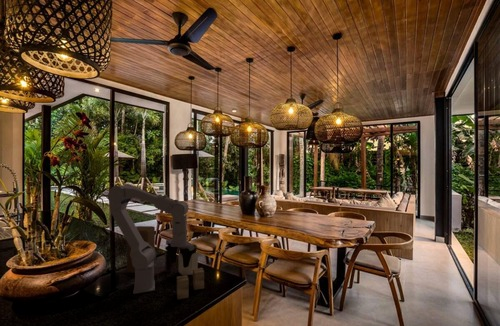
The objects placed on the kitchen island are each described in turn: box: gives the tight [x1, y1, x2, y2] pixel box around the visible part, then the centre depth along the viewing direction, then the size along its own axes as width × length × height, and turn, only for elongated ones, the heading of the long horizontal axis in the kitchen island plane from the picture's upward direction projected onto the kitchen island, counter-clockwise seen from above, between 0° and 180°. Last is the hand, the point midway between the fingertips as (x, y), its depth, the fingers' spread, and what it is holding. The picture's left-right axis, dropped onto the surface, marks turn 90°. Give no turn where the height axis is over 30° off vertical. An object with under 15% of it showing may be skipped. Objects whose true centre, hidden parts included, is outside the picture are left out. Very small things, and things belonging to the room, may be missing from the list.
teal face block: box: [176, 275, 190, 300], centre depth 98 cm, size 4×4×7 cm
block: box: [126, 225, 156, 274], centre depth 123 cm, size 10×10×20 cm
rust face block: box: [192, 267, 205, 291], centre depth 106 cm, size 4×4×7 cm
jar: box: [178, 243, 199, 276], centre depth 121 cm, size 9×8×12 cm
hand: (179, 264), depth 104 cm, fingers open, 7 cm apart
